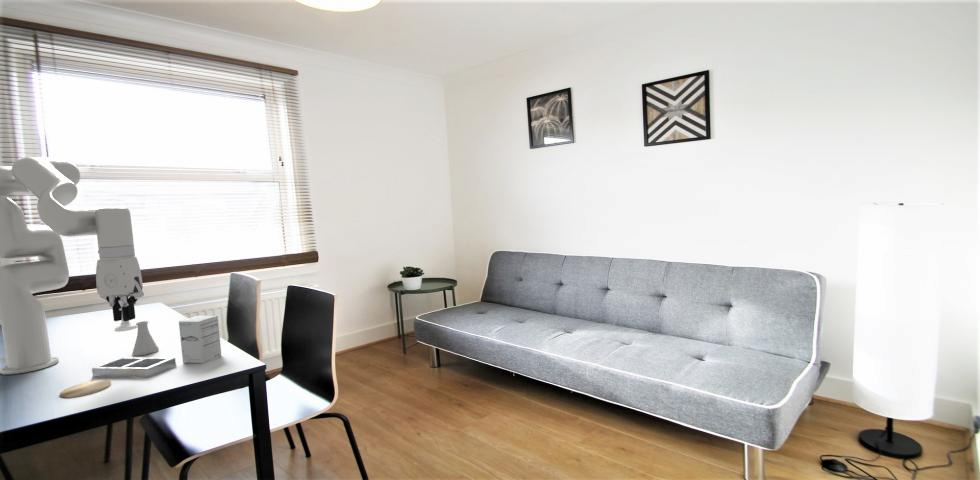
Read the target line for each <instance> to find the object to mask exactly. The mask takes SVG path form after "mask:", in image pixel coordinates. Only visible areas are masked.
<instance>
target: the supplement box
mask: <svg viewBox="0 0 980 480" xmlns="http://www.w3.org/2000/svg"><path fill="white" fill-rule="evenodd" d="M178 326H179V328H178V329H179V336H180V337H179V339H180V347H181V357H182V362H183V364H185V363H193V364H194V363H195V364H204V363H207V362H210V361H212V360H214V359H217V358H220V357H222V347H221V337H220V325H219V316H218V315H195V316H191V317H188V318H186V319H185V318H184V319H182V320H179V321H178Z"/></svg>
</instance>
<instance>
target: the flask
mask: <svg viewBox="0 0 980 480" xmlns="http://www.w3.org/2000/svg"><path fill="white" fill-rule="evenodd" d="M148 323H149V320H144V321H142V320H141V321H138V322H136V323H135V324H136V325H137V335H136V339H135V344H134V346H133V348H132V349H133V350H132V354H131V355H132V356H137V357H138V356H139V357H140V356H144V355H150V354H153V353H156V352H159V350H160V348H159V346H158V345H157V343H156V342H155V340H154V339H153V337H152V335H151V333H150V330H149V327H148Z"/></svg>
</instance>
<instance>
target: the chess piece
mask: <svg viewBox="0 0 980 480" xmlns="http://www.w3.org/2000/svg"><path fill="white" fill-rule="evenodd" d="M119 297H121V300H119V301H118V302H119V304H120V306H121V308H120V309H119V310H122V307H124V305H123V298H122V296H119ZM135 329H138V327H137V325H136V323H131V321H130V320H129V321H123V315H122V320H121V322H120V324H119V325H118V326H115V328H114V332H116V333H117V332H118V333H119V332H128V331H133V330H135Z"/></svg>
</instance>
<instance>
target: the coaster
mask: <svg viewBox="0 0 980 480" xmlns="http://www.w3.org/2000/svg"><path fill="white" fill-rule="evenodd" d="M111 385H112V382H111V380H108V379H103V380H102V379H100V380H94V381H93V380H92V381H88V382H82V383H80V384H75V385H73V386H70V387H68V388H65V389H63V390H61V391H60V392H59V397H60V398H63V399H64V398H66V399H67V398H68V399H69V398H78V397H83V396H88V395H92V394H94V393H95V394H96V393H98V392H101V391H103V390H106V389H107V388H109V387H111Z"/></svg>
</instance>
